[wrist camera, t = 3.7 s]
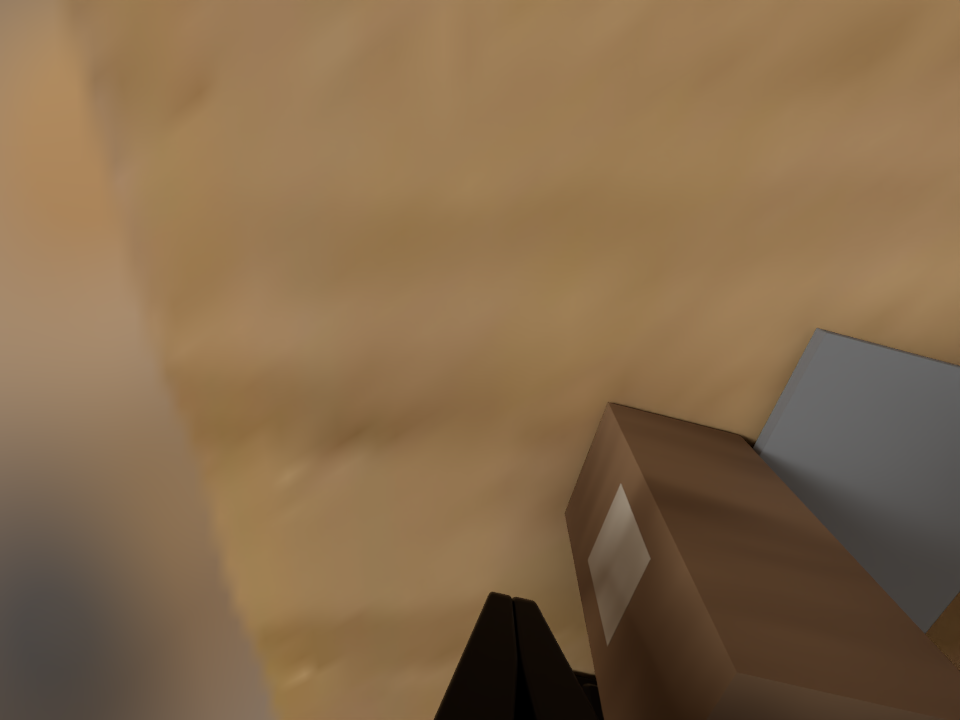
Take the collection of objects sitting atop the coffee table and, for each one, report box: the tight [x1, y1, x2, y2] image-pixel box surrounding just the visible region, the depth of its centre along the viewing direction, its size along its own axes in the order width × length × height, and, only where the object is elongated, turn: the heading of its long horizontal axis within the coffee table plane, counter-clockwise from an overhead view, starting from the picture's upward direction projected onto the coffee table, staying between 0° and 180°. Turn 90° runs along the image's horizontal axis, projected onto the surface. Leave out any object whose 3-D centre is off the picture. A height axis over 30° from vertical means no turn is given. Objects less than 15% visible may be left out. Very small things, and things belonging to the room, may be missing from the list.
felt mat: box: [753, 328, 960, 634], centre depth 15 cm, size 11×8×1 cm
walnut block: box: [565, 402, 960, 720], centre depth 11 cm, size 4×4×8 cm
